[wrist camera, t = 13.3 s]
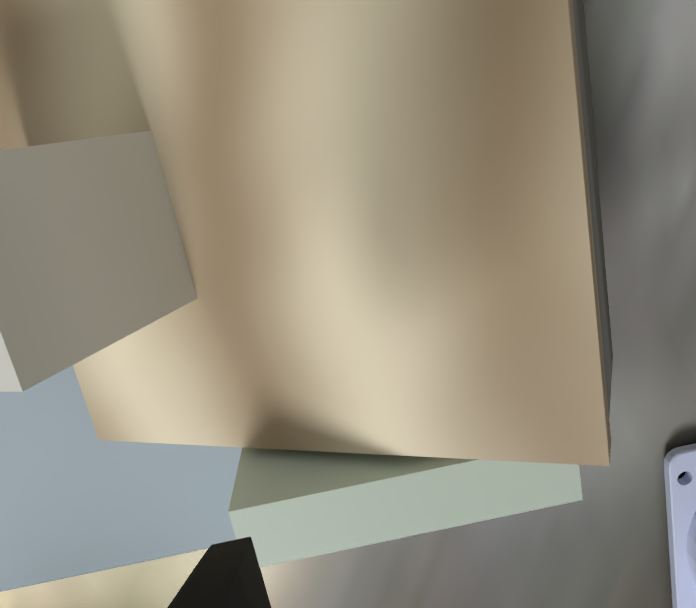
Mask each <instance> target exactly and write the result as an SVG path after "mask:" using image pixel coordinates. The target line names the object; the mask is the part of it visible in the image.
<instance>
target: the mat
mask: <svg viewBox="0 0 696 608" xmlns="http://www.w3.org/2000/svg"><path fill="white" fill-rule="evenodd" d="M241 451H242V447H223V446H203V445H183V444H164V443H144V442H124V441H105V440H98V437H97V434H96V431H95V428H94V425H93V422H92V420H91V417H90V414H89V411H88V408H87V405H86V402H85V399H84V396H83V394H82V391H81V388H80V385H79V382H78V379H77V376H76V373H75V370H74V368H73V365H72V366H70V367H68V368H66V369H65V370H63V371H61V372H59V373H57V374H55V375H53V376H51V377H50V378H48V379H46V380H44V381H42V382H40V383H38V384H36V385H35V386H33V387H31V388H29V389H27V390H25V391H23V392H0V592H1V591H6V590H11V589H16V588H21V587H25V586H30V585H35V584H40V583H44V582H49V581H54V580H59V579H63V578H68V577H73V576H78V575H83V574H87V573H92V572H97V571H102V570H106V569H111V568H116V567H121V566H126V565H130V564H135V563H140V562H145V561H149V560H154V559H159V558H164V557H169V556H173V555H178V554H183V553H188V552H192V551H197V550H202V549H207V548H209V547H210V546H211V545H212V544H217V543H222V542H227V541H231V540H236V537H235V533H234V530H233V527H232V523H231V520H230V516H229V513H228V511H229V506H230V501H231V497H232V492H233V487H234V483H235V478H236V474H237V469H238V464H239V460H240V455H241Z"/></svg>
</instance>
